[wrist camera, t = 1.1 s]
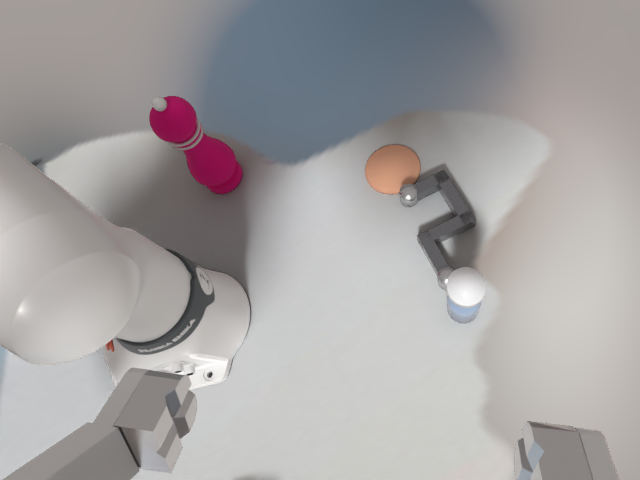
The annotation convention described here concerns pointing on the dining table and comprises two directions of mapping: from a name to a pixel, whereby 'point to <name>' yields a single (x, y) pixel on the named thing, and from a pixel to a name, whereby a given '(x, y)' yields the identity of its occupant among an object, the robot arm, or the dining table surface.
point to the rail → (446, 229)
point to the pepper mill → (195, 144)
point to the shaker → (465, 294)
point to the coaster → (392, 168)
